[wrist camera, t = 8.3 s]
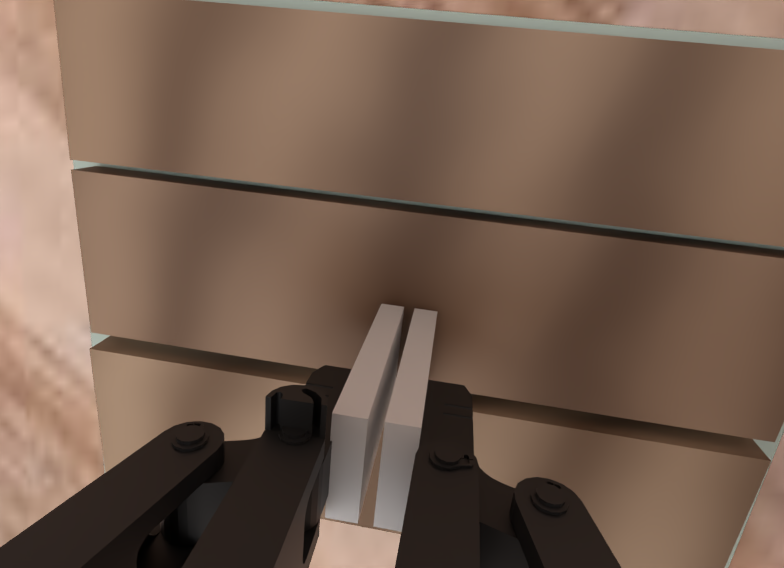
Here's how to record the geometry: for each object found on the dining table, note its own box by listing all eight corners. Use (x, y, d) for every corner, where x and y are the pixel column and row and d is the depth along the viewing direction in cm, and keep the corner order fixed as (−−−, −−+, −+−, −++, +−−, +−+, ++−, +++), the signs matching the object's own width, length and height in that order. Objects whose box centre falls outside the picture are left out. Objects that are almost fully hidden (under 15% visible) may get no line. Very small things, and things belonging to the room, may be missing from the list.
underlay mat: (926, 53, 14) (938, 51, 14) (712, 586, 20) (717, 595, 20) (64, -18, 17) (54, -21, 16) (111, 471, 23) (105, 476, 22)
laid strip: (895, 67, 14) (933, 62, 12) (826, 245, 15) (855, 255, 14) (81, -3, 16) (52, -12, 15) (95, 157, 18) (70, 159, 17)
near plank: (822, 255, 15) (850, 267, 14) (754, 420, 17) (774, 442, 16) (95, 165, 18) (71, 170, 17) (112, 319, 20) (90, 332, 19)
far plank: (751, 438, 17) (771, 461, 16) (699, 566, 20) (712, 594, 18) (110, 335, 20) (89, 348, 19) (124, 458, 22) (105, 477, 21)
